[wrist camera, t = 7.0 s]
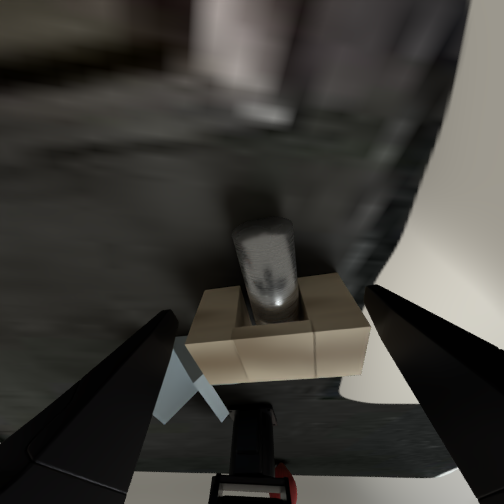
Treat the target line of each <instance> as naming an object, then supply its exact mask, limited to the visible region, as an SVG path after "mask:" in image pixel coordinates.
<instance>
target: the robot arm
mask: <svg viewBox="0 0 504 504" xmlns="http://www.w3.org/2000/svg"><path fill="white" fill-rule="evenodd" d="M364 304H365V306H366V308H367V310H368V312H369V315H370V317H371V319H372V321H373V323H374V325H375V328H376V330H377V332H378V334H379V336H380V338H381V340H382V341H383V343H384V345H385V347H386V348H387V350H388V352H389V353H390V355H391V357H392V358H393V360H394V361H395V363H396V365H397V367H398V368H399V370H400V372H401V373H402V375H403V376H404V378H405V380H406V382H407V383H408V385H409V387H410V388H411V390H412V391H413V393H414V395H415V397H416V398H417V400H418V401H419V403H420V405H421V407H422V408H423V410H424V412H425V413H426V415H427V417H428V418H429V420H430V422H431V423H432V425H433V427H434V428H435V430H436V432H437V433H438V435H439V437H440V438H441V440H442V442H443V443H444V445H445V447H446V448H447V450H448V452H449V453H450V455H451V457H452V458H453V460H454V461H455V463H456V465H457V466H458V468H459V470H460V471H461V473H462V474H463V476H464V478H465V480H466V481H467V483H468V485H469V486H470V488H471V490H472V491H473V493H474V495H475V496H476V498H477V499H478V502H479V503H480V504H504V350H502V349H499V348H498V347H496V346H494V345H493V344H491V343H489V342H487V341H485V340H483V339H481V338H479V337H477V336H475V335H473V334H471V333H470V332H468V331H465V330H464V329H462V328H460V327H458V326H456V325H454V324H452V323H450V322H449V321H447V320H445V319H443V318H441V317H439V316H437V315H435V314H433V313H431V312H429V311H427V310H426V309H424V308H421V307H420V306H418V305H416V304H414V303H412V302H410V301H408V300H406V299H404V298H403V297H401V296H399V295H397V294H395V293H393V292H391V291H389V290H387V289H385V288H383V287H381V286H379V285H376V284H375V285H368V286H366V288H365V294H364ZM177 328H178V320H177V318H176V316H175V314H174V313H173V311H172V310H170V309H168V310H162V311H161V312H160V313H158V314H157V315H156V316H155V317H154V318H153V319H151V320H150V321H149V322H148V323H147V324H145V325H144V326H143V327H142V328H141V329H140V330H138V331H137V332H136V333H135V334H134V335H132V336H131V337H130V338H129V339H128V340H126V341H125V342H124V343H123V344H122V345H121V346H119V347H118V348H117V349H116V350H115V351H113V352H112V353H111V354H110V355H109V356H108V357H106V358H105V359H104V360H103V361H102V362H100V363H99V364H98V365H97V366H96V367H95V368H93V369H92V370H91V371H90V372H89V373H87V374H86V375H85V376H84V377H83V378H82V379H81V380H79V381H78V382H77V383H76V384H74V385H73V386H72V387H71V388H70V389H69V390H67V391H66V392H65V393H64V394H62V395H61V396H60V397H59V398H58V399H56V400H55V401H54V402H53V403H52V404H50V405H49V406H48V407H47V408H45V409H44V410H43V411H42V412H40V413H39V414H38V415H37V416H35V417H34V418H33V419H31V420H30V421H29V422H28V423H26V424H25V425H24V426H23V427H21V428H20V429H19V430H17V431H16V432H15V433H14V434H12V435H11V436H10V437H8V438H7V439H6V440H5V441H3V442H2V443H1V444H0V504H124V502H125V499H126V493H127V492H128V488H129V486H130V483H131V479H132V476H133V473H134V470H135V467H136V464H137V461H138V458H139V455H140V452H141V449H142V445H143V442H144V439H145V436H146V433H147V430H148V427H149V424H150V421H151V418H152V415H153V411H154V408H155V405H156V402H157V399H158V396H159V393H160V390H161V387H162V384H163V381H164V377H165V374H166V371H167V368H168V365H169V362H170V359H171V355H172V351H173V346H174V342H175V337H176V333H177ZM227 410H228V412H229V415H230V417H231V418H232V420H233V422H234V423H233V435H232V446H231V457H230V469H229V475H221V474H220V473H217V474H216V476H213V477H212V482H211V489H210V496H209V502H208V504H292V502H291V494H290V486H289V478H288V477H283V478H277V477H275V461H274V442H273V426H276V425H277V420H276V417H275V414H274V411H273V408H272V406H271V405H255V406H234V407H228V408H227ZM223 490H227V491H246V492H266V493H280V494H281V499H280V498H265V497H245V496H222V493H223Z"/></svg>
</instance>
